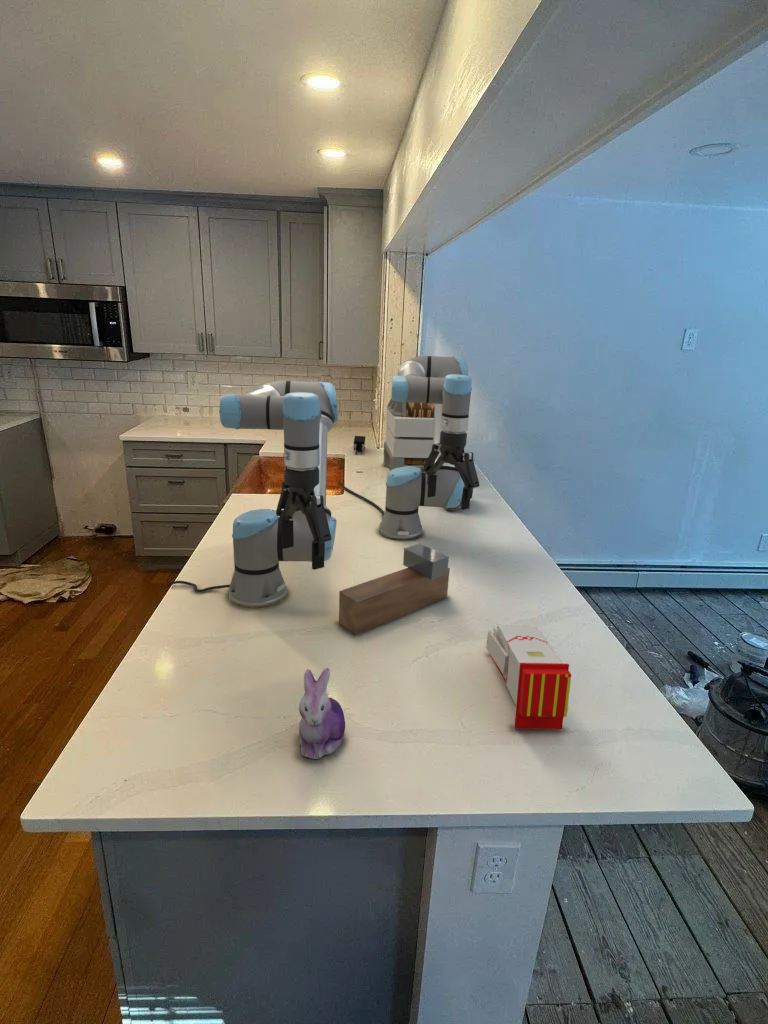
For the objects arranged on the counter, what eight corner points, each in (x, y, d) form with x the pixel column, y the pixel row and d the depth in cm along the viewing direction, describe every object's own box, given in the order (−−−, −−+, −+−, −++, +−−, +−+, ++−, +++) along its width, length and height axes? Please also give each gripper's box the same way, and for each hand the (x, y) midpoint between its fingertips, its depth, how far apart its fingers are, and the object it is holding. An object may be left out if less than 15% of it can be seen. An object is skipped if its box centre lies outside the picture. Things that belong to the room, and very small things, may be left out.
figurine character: (365, 457, 304) (365, 447, 318) (365, 443, 301) (365, 434, 315) (352, 456, 304) (353, 447, 318) (352, 443, 301) (353, 434, 314)
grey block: (403, 565, 155) (404, 548, 153) (418, 559, 158) (419, 543, 157) (431, 579, 147) (432, 562, 145) (447, 573, 151) (449, 556, 149)
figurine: (306, 770, 97) (306, 697, 91) (287, 731, 105) (286, 662, 100) (357, 752, 101) (359, 682, 96) (334, 717, 109) (335, 650, 104)
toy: (533, 609, 133) (580, 670, 104) (528, 661, 136) (573, 736, 107) (482, 608, 133) (514, 669, 103) (478, 661, 135) (509, 735, 106)
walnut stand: (338, 623, 142) (339, 591, 139) (429, 588, 162) (431, 559, 159) (355, 635, 137) (356, 602, 134) (447, 597, 157) (449, 568, 154)
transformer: (382, 463, 289) (386, 382, 275) (445, 464, 293) (451, 384, 279) (390, 482, 257) (394, 392, 243) (460, 483, 261) (468, 394, 247)
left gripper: (259, 456, 129) (262, 542, 136) (317, 483, 110) (316, 582, 117) (289, 452, 133) (290, 536, 140) (349, 478, 115) (346, 573, 122)
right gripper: (413, 424, 166) (409, 493, 173) (479, 441, 148) (471, 517, 156) (431, 422, 171) (426, 489, 178) (497, 438, 153) (489, 512, 160)
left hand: (302, 557), depth 129 cm, fingers open, 13 cm apart
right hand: (447, 502), depth 167 cm, fingers open, 13 cm apart
